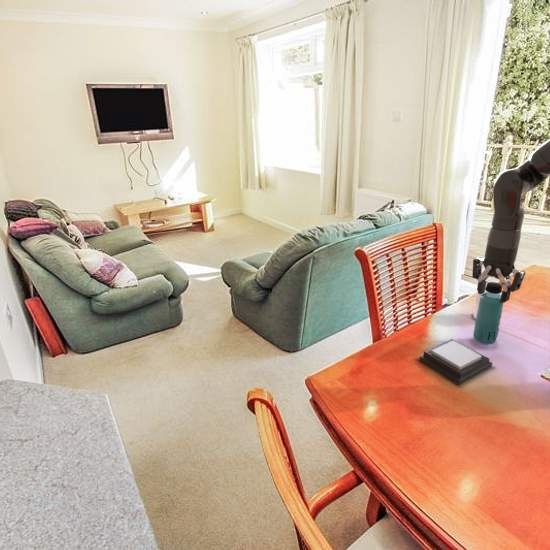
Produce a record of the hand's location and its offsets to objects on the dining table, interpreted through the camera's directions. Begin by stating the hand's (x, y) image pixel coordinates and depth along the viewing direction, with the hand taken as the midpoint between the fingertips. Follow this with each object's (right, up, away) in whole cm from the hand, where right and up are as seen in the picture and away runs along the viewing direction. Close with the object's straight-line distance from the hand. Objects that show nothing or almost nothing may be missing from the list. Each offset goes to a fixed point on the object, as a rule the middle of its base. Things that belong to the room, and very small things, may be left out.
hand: (491, 297), depth 109 cm
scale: (-12, -19, -2) cm, 23 cm away
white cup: (+9, -9, +19) cm, 23 cm away
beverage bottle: (+1, -15, +6) cm, 16 cm away
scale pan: (-12, -17, -3) cm, 21 cm away
